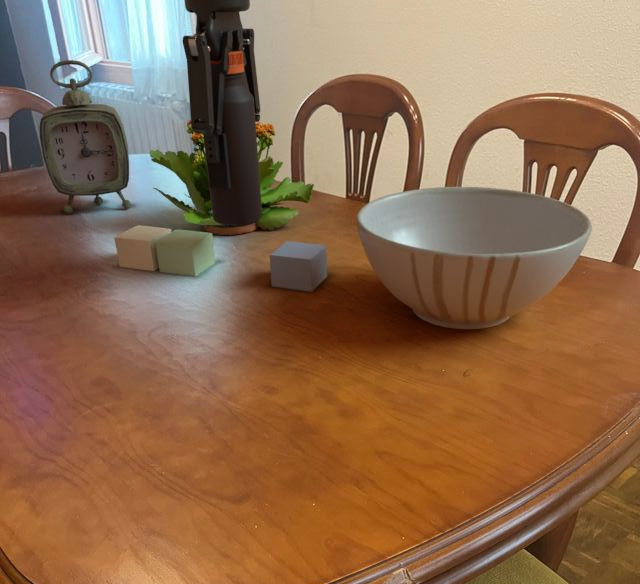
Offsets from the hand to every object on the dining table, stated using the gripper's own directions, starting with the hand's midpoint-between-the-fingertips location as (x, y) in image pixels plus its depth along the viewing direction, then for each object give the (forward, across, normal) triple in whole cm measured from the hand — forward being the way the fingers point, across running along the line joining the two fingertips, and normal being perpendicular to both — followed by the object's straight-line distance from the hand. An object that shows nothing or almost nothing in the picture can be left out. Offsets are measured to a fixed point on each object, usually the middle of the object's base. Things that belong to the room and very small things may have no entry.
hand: (233, 180), depth 87 cm
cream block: (+14, 0, +16) cm, 21 cm away
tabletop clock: (+14, +24, +43) cm, 51 cm away
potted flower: (+14, +20, +13) cm, 27 cm away
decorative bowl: (+14, -2, -32) cm, 35 cm away
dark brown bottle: (+5, 0, 0) cm, 5 cm away
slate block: (+14, 0, -9) cm, 16 cm away
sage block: (+14, 0, +9) cm, 16 cm away
